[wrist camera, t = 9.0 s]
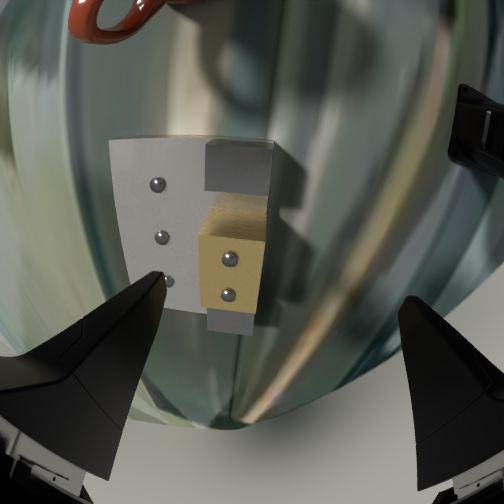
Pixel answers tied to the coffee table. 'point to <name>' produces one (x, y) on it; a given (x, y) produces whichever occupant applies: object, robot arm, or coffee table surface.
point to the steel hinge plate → (184, 207)
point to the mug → (87, 30)
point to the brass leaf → (231, 259)
